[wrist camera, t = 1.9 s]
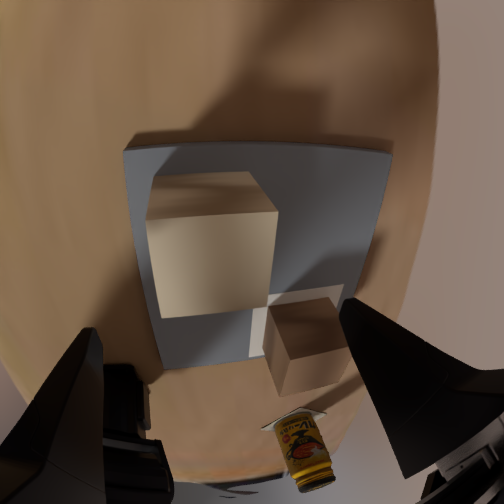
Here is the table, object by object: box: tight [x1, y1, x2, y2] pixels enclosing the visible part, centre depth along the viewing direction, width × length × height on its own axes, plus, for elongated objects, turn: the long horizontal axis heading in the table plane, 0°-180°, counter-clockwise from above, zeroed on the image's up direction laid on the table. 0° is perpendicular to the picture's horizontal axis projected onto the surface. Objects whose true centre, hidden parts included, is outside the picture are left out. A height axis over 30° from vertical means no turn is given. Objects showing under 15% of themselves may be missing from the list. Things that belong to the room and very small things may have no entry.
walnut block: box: [262, 297, 352, 397], centre depth 21 cm, size 5×5×5 cm
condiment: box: [260, 408, 336, 493], centre depth 34 cm, size 7×8×12 cm
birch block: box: [145, 171, 278, 318], centre depth 14 cm, size 5×5×5 cm
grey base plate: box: [123, 141, 393, 370], centre depth 20 cm, size 16×18×1 cm
